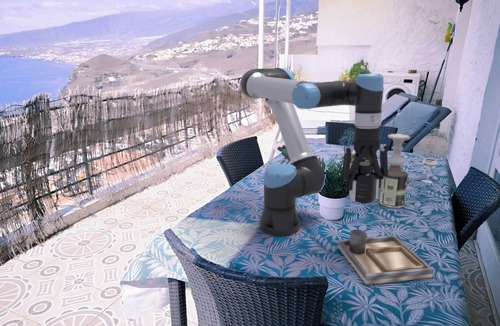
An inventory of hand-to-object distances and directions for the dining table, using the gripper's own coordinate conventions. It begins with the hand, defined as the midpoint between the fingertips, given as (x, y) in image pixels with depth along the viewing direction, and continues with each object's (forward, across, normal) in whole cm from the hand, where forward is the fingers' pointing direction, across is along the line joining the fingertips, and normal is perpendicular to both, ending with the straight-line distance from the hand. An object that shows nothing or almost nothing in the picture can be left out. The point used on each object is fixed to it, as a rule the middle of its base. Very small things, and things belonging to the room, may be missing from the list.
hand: (363, 198), depth 106 cm
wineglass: (+17, +63, +56) cm, 86 cm away
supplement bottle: (+1, 0, 0) cm, 1 cm away
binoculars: (+15, -2, +86) cm, 87 cm away
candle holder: (+17, +47, +60) cm, 78 cm away
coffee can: (+17, +30, +33) cm, 48 cm away
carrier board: (+18, +3, -8) cm, 20 cm away
